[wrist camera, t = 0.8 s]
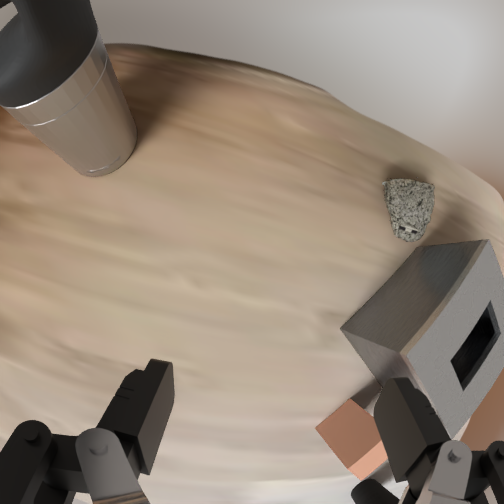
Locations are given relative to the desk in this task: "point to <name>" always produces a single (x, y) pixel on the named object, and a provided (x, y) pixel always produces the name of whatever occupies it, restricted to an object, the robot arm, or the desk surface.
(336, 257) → the desk surface
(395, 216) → the rock sample
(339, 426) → the salmon orange block
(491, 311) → the coin box
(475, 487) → the robot arm
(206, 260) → the desk surface
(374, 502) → the drinking cup
